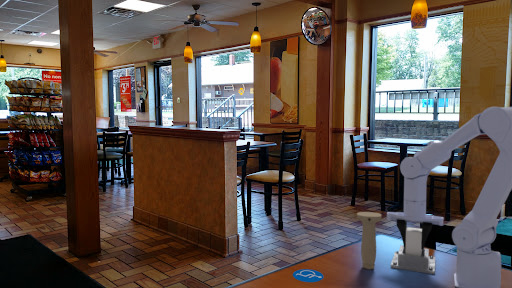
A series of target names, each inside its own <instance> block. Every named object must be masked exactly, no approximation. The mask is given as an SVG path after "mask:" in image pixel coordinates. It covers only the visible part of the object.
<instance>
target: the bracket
mask: <svg viewBox="0 0 512 288" xmlns="http://www.w3.org/2000/svg"><path fill="white" fill-rule="evenodd" d="M390 268H391V269H397V270H405V271H411V272H417V273H423V274H429V275H430V274H431V275H436V256H434V255H430V248H425V247H424V250H422V254H421V256H418V255H410V254H406V247H404V245H400V247H399V250H397V251H394V254H393V257H392V260H391V263H390Z"/></svg>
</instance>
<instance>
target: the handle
mask: <svg viewBox="0 0 512 288" xmlns="http://www.w3.org/2000/svg"><path fill="white" fill-rule="evenodd" d="M356 218H357V220H358V221H360V222H362V228H361V229H362V230H361V231H362V232H361V244H360V246H361V249H360V251H361V262H362V268H363V269H366V270H374V269H375V268H376V267H375V266H376V264H375V263H376V258H377V235H376V231H377V230H376V226H377V225H376V223H378V222H381V221H382V214H381V213H379V212H371V211H360V212H357V213H356Z"/></svg>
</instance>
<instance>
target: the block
mask: <svg viewBox="0 0 512 288" xmlns="http://www.w3.org/2000/svg"><path fill="white" fill-rule="evenodd" d="M421 242H422V228H418V227H410V226H407V229H406V254H410V255H418V256H421V254H422V249H421Z"/></svg>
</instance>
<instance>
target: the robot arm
mask: <svg viewBox="0 0 512 288" xmlns="http://www.w3.org/2000/svg"><path fill="white" fill-rule="evenodd" d="M481 135H487V137H489V138H490V140H492V141H493V142H494V143H495V145H496V146H497V148H498V151H499V154H498V156H497V158H496V160H495V162H494V163H493V164H494V165H493V167H492V169H491V171H490V173H489V175H488V176H487V178H486V181H485V183H484V185H483V186H482V189H481V191H480V193H479V195H478V198H477V199H476V201H475V204H474V206H473V207H472V210H470V211H469V213H468V214H466V215H465V217H463V219H462V221H461V222H460V224H459V225H457V226H455V227H454V228H453V230H452V232H451V239H452V242H453V243H454V245H455V246H456V269H455V270H456V271H455V273H453V280H454V287H455V288H501V284H502V256H501V252H499V251H494V250H492V248H491V247H492V246H491V244H492V243H493V242H494V241H495V239H496V237H497V226H498V225H499V221H498V219H497V218H498V216H499V214H500V213H501V211H502V208H503V207H504V204H505V203H506V201H507V199H508V197H509V195H510V192H511V191H512V106H507V107H501V106H500V107H499V106H491V107H490V106H489V107H487V108H486V109H484V110H483V111H482V112H481V113H477V114H475V115H474V116H473V117H472V118H471V119H470V120H468V121H467V122H466V123H464V124H463V125H461V126H460V127H459V128H457V129H456V130H455V131H454V132H453V133H451V134H450V135H449V136H448V137H446V138H445V139H444V140H438V139H437V140H430V141H428V142H427V143H426V144H427V146H425V147H424V148H423V149H421V150H419V151H416V152H414V153H413V154H414V155H413V157H412V156H409V157H408V156H407V157H404V159H402V161H401V163H400V165H399V169H400V170H399V171H400V173H401V174H402V176H403V177H404V178H403V180H404V181H403V212H401V211H399V212H398V211H397V212H395V211H387V213H386V221H396V223H395V224H396V227H397V229H398V231H399V234H400V236H401V240H402V246H404V247H406V229H407V227H408V226H407V225H408V222H409V223H410V222H411V223H417V224H418V223H419V224H421V229H422V242H421V249H422V250H424V248H425V244H426V241H427V238H428V236H429V234H430V232H431V230H432V228H433V225H436V226H441V227H442V226H444V217H443V216H436V215H431V214H427V182H428V176H429V175H430V173H431V172H432V170H433V169H435V168H437V167H438V166H440V165H443V163H445V162H447V161H448V160H450V159H451V156H452V151H454V150H457V148H459V147H461V146H464V145H465V144H466V143H468V142H470V141H471V140H473V139H475V138H476V137H478V136H481Z"/></svg>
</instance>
